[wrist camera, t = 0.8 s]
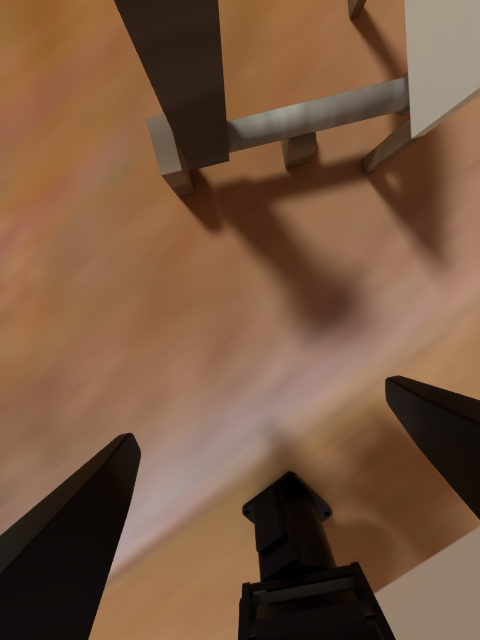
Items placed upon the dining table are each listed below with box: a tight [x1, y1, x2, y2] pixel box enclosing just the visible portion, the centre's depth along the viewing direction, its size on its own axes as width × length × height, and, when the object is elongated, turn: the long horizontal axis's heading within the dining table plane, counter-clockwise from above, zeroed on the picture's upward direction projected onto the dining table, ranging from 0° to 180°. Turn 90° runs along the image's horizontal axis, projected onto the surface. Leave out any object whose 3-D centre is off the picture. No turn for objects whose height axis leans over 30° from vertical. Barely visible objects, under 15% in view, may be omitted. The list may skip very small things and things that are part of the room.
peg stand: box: [146, 0, 422, 197], centre depth 13 cm, size 10×14×4 cm
